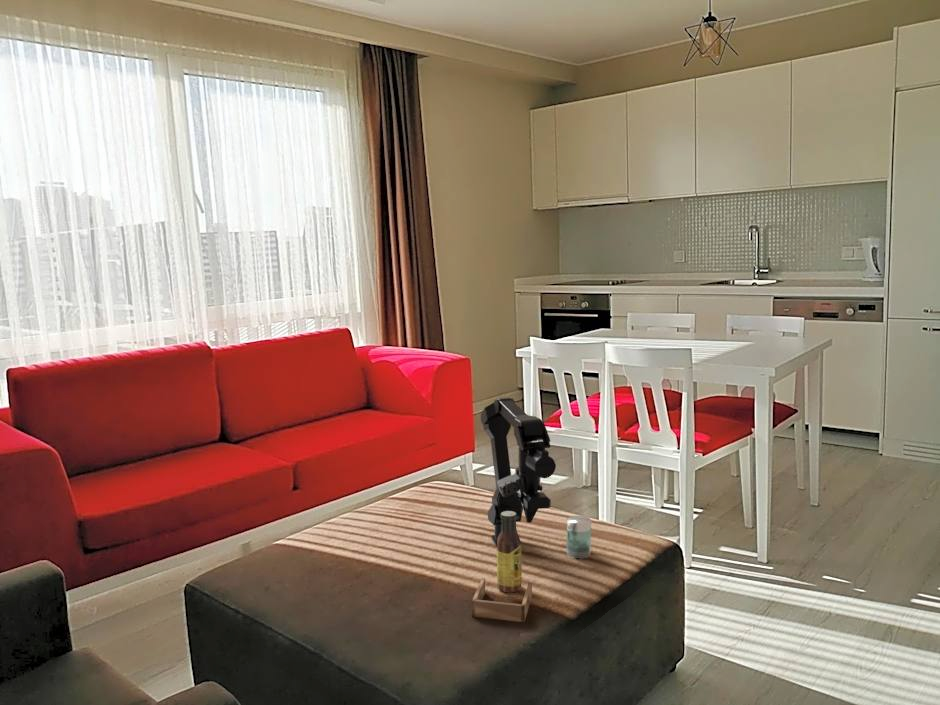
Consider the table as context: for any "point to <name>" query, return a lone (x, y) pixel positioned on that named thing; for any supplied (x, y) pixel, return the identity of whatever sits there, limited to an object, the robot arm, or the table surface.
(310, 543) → the table surface
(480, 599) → the crate
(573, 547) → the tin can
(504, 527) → the sauce bottle
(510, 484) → the robot arm
